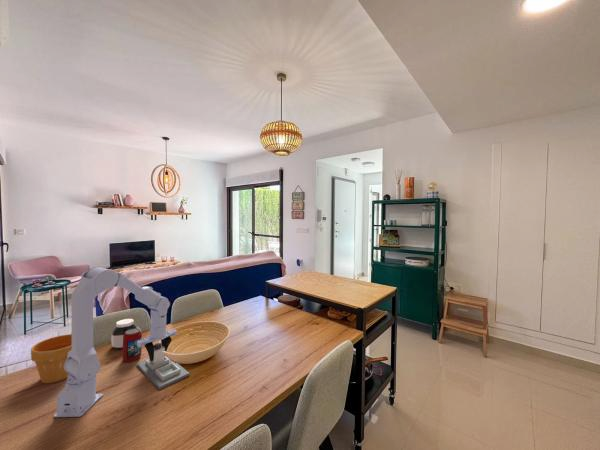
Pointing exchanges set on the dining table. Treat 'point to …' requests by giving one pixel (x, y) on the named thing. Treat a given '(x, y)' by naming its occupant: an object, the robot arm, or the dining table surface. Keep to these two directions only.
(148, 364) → the board
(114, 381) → the dining table surface
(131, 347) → the beverage can
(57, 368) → the flower pot
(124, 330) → the spread jar
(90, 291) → the robot arm
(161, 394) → the dining table surface
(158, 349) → the plug
